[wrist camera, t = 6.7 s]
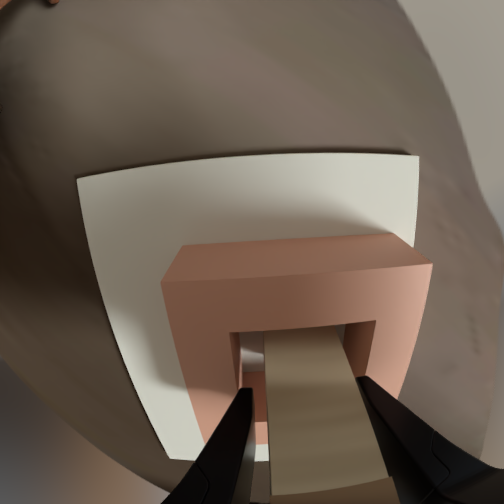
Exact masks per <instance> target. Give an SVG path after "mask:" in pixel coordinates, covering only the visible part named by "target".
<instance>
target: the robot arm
mask: <svg viewBox="0 0 504 504" xmlns="http://www.w3.org/2000/svg"><path fill="white" fill-rule="evenodd" d="M355 381H356V383H357V386H358V389H359V391H360V394H361V397H362V400H363V402H364V405H365V408H366V411H367V414H368V416H369V419H370V422H371V425H372V428H373V431H374V434H375V437H376V440H377V442H378V445H379V448H380V451H381V454H382V457H383V461H384V464H385V467H386V470H387V473H388V476H389V477H391V476H392V479H393V482H394V485H395V488H396V491H397V494H398V498H399V501H400V504H504V469H499V468H495V467H492V466H490V465H488V464H486V463H484V462H482V461H481V460H479V459H477V458H476V457H474V456H472V455H470V454H469V453H467V452H465V451H464V450H462V449H461V448H459V447H457V446H456V445H454V444H453V443H451V442H450V441H449V440H447V439H446V438H445V437H443V436H442V435H441V434H439V433H438V432H437V431H434V429H433V428H432V427H430V426H429V425H428V424H427V423H425V422H424V421H423V420H422V419H420V418H419V417H418V416H417V415H415V414H414V413H413V412H412V411H411V410H409V409H408V408H407V407H406V406H404V405H403V404H402V403H401V402H399V401H398V400H397V399H396V398H394V397H393V396H392V395H391V394H390V393H388V392H387V391H386V390H385V389H383V388H382V387H381V386H380V385H379V384H377V383H376V382H375V381H374V380H372V379H371V378H370V377H369V376H367V375H364V376H358V377H356V378H355ZM255 452H256V429H255V403H254V392H253V388H252V387H242V388H240V389H239V390H238V392H237V394H236V395H235V397H234V399H233V401H232V402H231V404H230V406H229V407H228V409H227V410H226V412H225V414H224V415H223V417H222V419H221V420H220V422H219V424H218V425H217V427H216V428H215V430H214V432H213V433H212V435H211V436H210V438H209V440H208V441H207V443H206V444H205V446H204V448H203V449H202V451H201V452H200V454H199V455H198V457H197V458H196V460H195V463H193V464H192V466H191V467H190V469H189V471H188V472H187V473H186V475H185V476H184V477H183V479H182V480H181V482H180V483H179V484H178V485H177V486H176V488H175V489H174V490H173V491H172V492H171V493H170V494H169V495H168V497H167V498H166V499H165V500H164V501H163V502H162V503H161V504H249V502H250V494H251V486H252V478H253V469H254V461H255Z"/></svg>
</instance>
